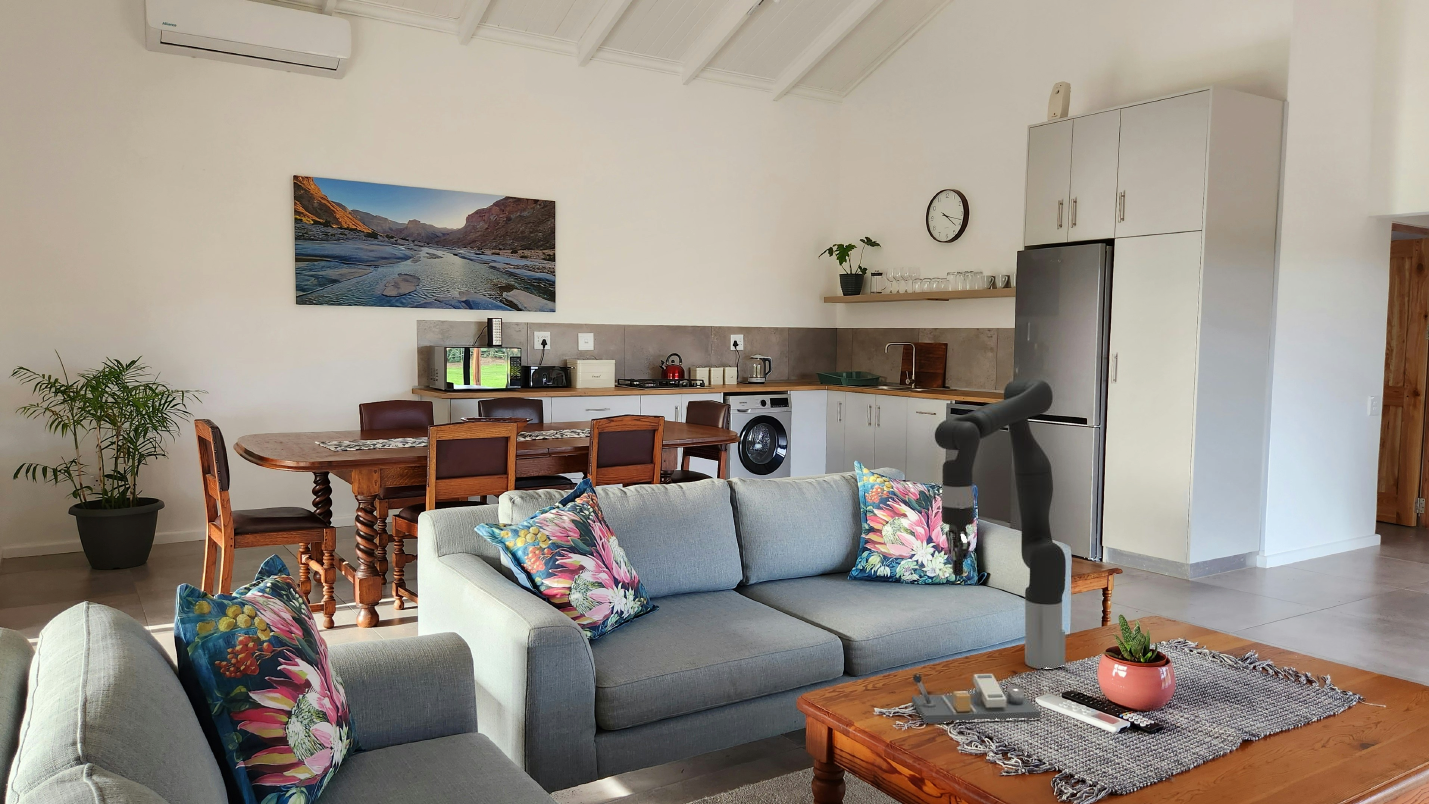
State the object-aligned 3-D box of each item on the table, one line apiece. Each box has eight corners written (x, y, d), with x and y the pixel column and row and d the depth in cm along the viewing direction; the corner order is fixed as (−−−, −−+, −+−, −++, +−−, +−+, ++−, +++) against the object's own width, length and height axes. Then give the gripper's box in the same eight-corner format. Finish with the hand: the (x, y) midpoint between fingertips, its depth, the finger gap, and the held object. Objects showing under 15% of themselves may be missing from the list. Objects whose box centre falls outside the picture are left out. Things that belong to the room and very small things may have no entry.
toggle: (931, 699, 217) (918, 670, 217) (934, 702, 215) (920, 673, 215) (924, 702, 217) (910, 674, 217) (926, 706, 215) (912, 677, 215)
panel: (1020, 700, 223) (1020, 678, 223) (1040, 720, 211) (1040, 697, 211) (912, 703, 222) (911, 682, 222) (925, 724, 210) (925, 701, 210)
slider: (966, 705, 214) (966, 689, 214) (970, 710, 211) (970, 693, 211) (953, 706, 214) (953, 689, 214) (957, 711, 211) (957, 694, 211)
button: (1020, 697, 219) (1020, 684, 218) (1025, 703, 215) (1025, 690, 215) (1004, 697, 218) (1004, 685, 218) (1010, 703, 215) (1010, 691, 215)
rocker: (991, 680, 222) (992, 672, 221) (1005, 706, 212) (1006, 698, 211) (973, 681, 221) (973, 673, 221) (986, 707, 212) (987, 698, 211)
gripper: (934, 499, 233) (935, 568, 234) (949, 508, 220) (950, 581, 221) (964, 498, 233) (965, 567, 234) (981, 507, 220) (982, 581, 221)
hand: (957, 574), depth 227 cm, fingers closed
